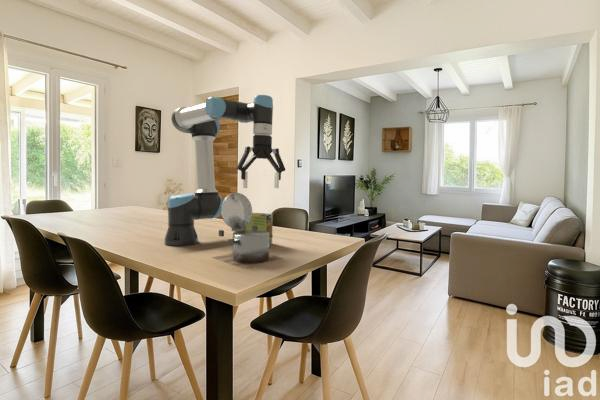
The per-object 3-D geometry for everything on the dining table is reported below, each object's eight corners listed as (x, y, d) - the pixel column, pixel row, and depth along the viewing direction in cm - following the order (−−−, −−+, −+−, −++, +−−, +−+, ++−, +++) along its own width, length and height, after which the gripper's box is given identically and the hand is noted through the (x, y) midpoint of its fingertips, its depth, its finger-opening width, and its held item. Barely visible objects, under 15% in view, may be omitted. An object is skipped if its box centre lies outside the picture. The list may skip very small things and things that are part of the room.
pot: (216, 258, 127) (216, 230, 126) (255, 250, 142) (256, 225, 141) (242, 267, 117) (242, 236, 116) (281, 257, 131) (281, 230, 130)
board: (211, 260, 129) (211, 257, 129) (251, 252, 144) (251, 249, 144) (243, 271, 116) (243, 268, 116) (283, 261, 131) (283, 258, 130)
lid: (224, 232, 127) (219, 232, 130) (254, 228, 138) (248, 228, 140) (221, 193, 128) (215, 194, 130) (250, 192, 138) (245, 193, 141)
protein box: (266, 250, 147) (266, 216, 146) (233, 248, 150) (233, 214, 149) (272, 245, 158) (273, 213, 156) (242, 243, 161) (242, 211, 159)
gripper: (235, 132, 124) (234, 188, 126) (294, 137, 136) (292, 188, 138) (229, 133, 130) (228, 187, 132) (286, 138, 142) (284, 187, 144)
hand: (261, 188), depth 135 cm, fingers open, 13 cm apart
